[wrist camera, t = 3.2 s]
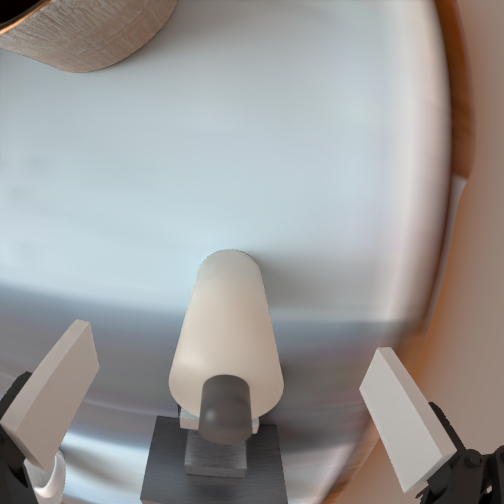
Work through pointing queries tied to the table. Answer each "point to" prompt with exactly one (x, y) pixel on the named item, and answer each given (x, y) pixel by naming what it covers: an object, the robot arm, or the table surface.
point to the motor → (212, 466)
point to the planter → (80, 30)
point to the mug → (48, 480)
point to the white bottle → (227, 350)
